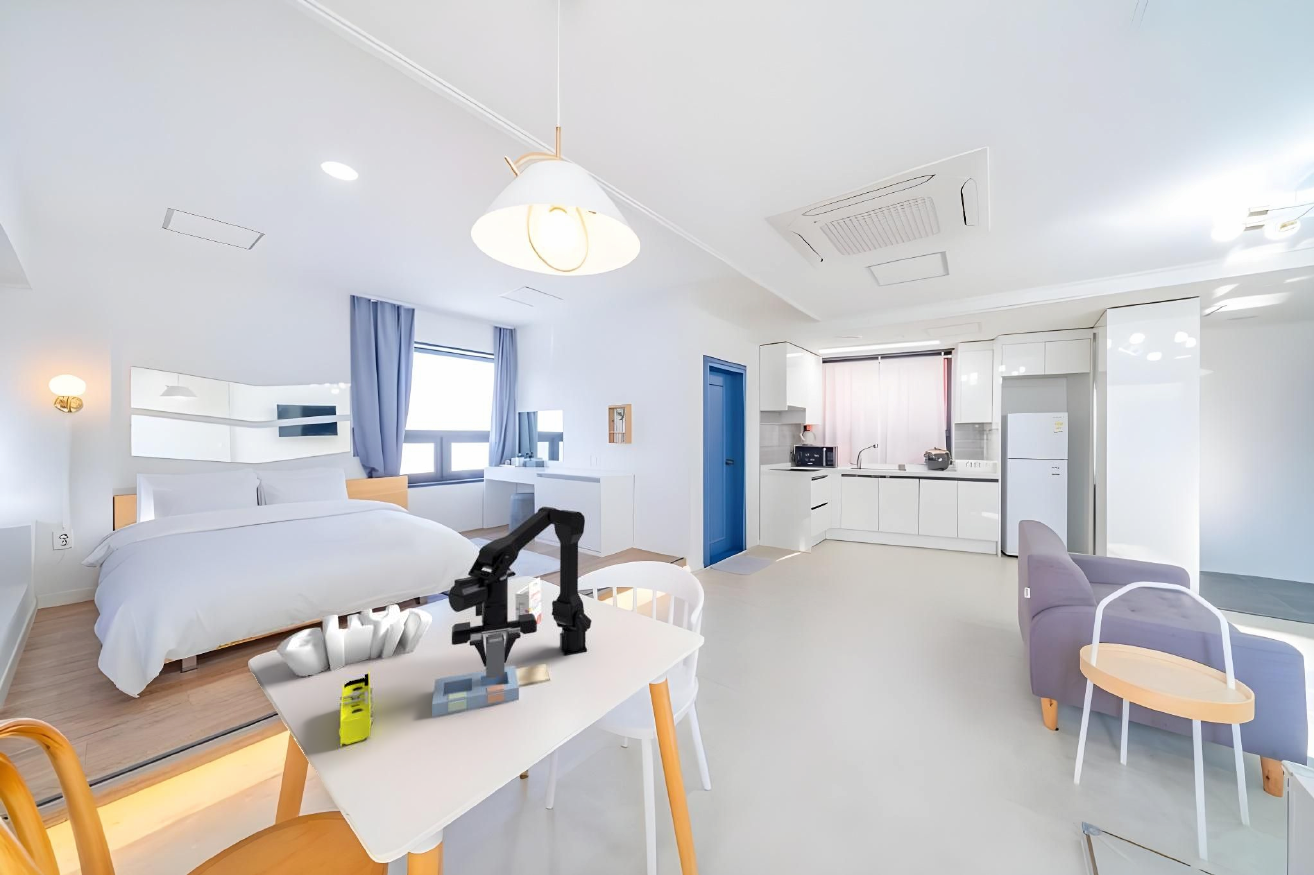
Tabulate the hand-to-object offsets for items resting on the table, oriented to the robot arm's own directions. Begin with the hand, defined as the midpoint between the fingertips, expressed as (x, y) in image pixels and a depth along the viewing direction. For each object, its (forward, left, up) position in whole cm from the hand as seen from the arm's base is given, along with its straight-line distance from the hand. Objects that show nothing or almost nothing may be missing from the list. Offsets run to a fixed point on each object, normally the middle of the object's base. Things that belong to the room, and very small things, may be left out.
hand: (495, 664), depth 109 cm
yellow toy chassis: (+28, +2, -7) cm, 29 cm away
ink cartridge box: (-12, -37, -7) cm, 39 cm away
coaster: (-9, -4, -7) cm, 12 cm away
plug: (0, 0, -2) cm, 2 cm away
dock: (+4, 0, -7) cm, 8 cm away
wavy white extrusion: (+34, -33, -7) cm, 48 cm away
